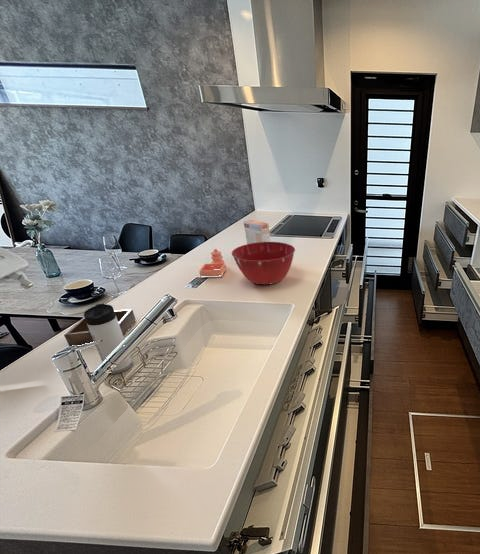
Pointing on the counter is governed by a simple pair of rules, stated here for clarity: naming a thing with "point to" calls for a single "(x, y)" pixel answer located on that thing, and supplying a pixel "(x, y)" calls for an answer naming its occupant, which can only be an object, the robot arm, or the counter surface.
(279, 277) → the mixing bowl
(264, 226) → the cracker box
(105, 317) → the travel mug
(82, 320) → the basket
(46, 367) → the counter surface
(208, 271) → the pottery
